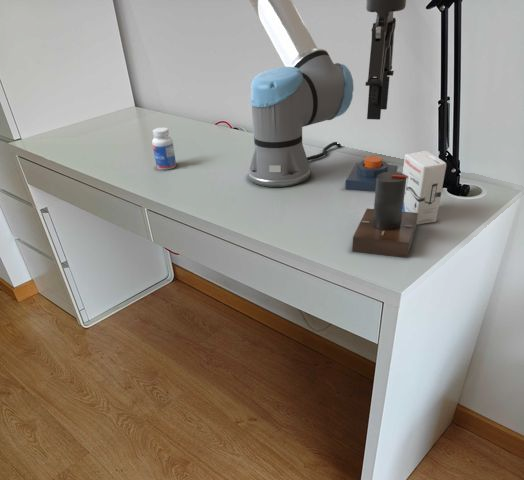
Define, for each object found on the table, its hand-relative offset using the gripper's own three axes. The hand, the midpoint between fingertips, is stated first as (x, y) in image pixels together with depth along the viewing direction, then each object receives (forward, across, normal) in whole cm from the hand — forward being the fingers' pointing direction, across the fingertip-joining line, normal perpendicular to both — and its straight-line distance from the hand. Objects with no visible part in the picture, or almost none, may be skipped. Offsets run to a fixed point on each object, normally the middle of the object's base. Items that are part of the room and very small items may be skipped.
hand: (377, 113), depth 110 cm
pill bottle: (+15, 0, +56) cm, 58 cm away
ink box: (+15, -17, -12) cm, 26 cm away
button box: (+15, 0, 0) cm, 15 cm away
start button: (+12, 0, 0) cm, 12 cm away
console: (+15, -29, -8) cm, 34 cm away
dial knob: (+12, -29, -8) cm, 32 cm away
